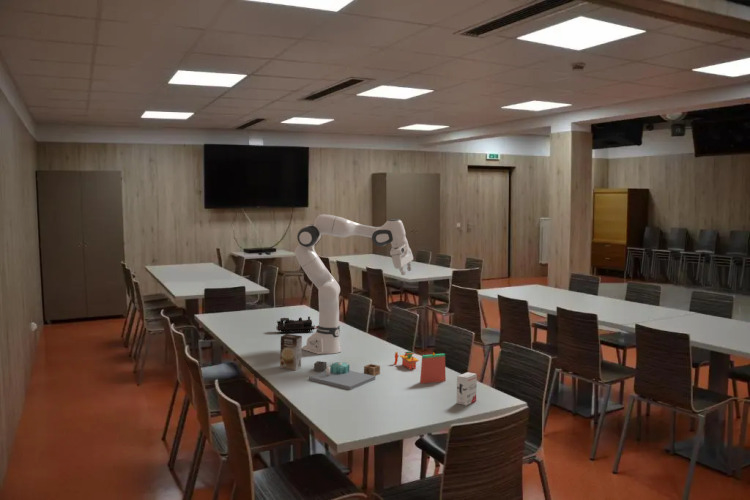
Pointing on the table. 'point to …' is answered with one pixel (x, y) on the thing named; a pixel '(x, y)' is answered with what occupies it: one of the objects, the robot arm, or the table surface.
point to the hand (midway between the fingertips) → (406, 272)
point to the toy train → (294, 325)
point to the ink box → (466, 388)
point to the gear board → (341, 376)
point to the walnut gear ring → (372, 369)
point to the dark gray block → (320, 366)
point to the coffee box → (290, 352)
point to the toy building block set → (426, 366)
